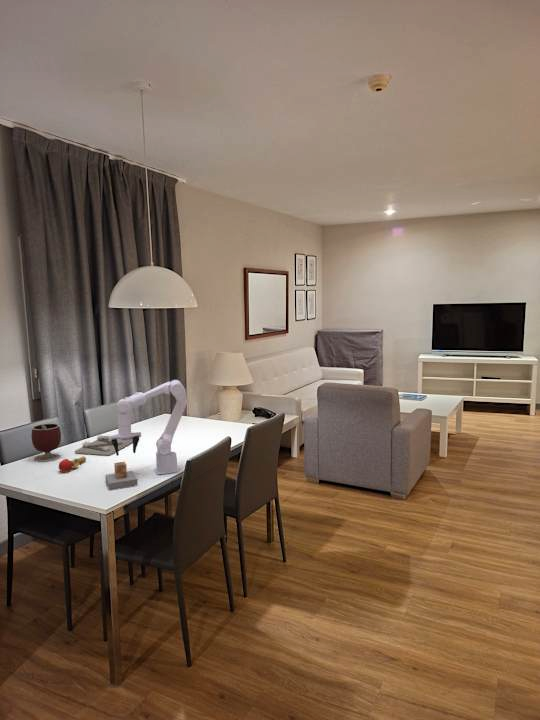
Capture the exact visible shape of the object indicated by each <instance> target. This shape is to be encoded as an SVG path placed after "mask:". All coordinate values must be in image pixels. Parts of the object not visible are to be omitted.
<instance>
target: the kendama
mask: <svg viewBox="0 0 540 720" xmlns="http://www.w3.org/2000/svg"><path fill="white" fill-rule="evenodd" d="M86 461H87V457H86V456H81V457H79V458H78V457H77V458H73V459H72V460H69V459H68V458H65V459H62V460H61V461H59V463H58V470H59V472H63V473H68V472H70V471H71V470H72V468H74V469H77V468H78V467H79V466H80V464H81V463H85V462H86Z"/></svg>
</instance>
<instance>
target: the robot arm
mask: <svg viewBox="0 0 540 720" xmlns="http://www.w3.org/2000/svg"><path fill="white" fill-rule="evenodd" d="M170 393H171V395H172V396H173V397H174V400H175V402H176V403H175V404H174V408H173V409H172V412H171V414H170V416H169V419H168V421H167V424H166V426H165V429H164V431H163V432H162V434H161V435H160V436H159V438H158V439H157V440H156V442H155V445H156V448H157V449H156V450H157V451H156V452H155V458H156V459H155V463H156V468H154V472H155V473H156V474H157V475H158V474H161V475H166V474H167V475H168V474H173V473H178V471H179V470H178V457H177V453H176V452H175V451H172V443H173V439H174V436H175V433H176V431H177V429H178V426H179V423H180V421H181V419H182V417H183V413H184V412H185V410H186V406H187V405H188V396H187V391H186V388H185V387H184V385H183V384H182V383H181V381H180V380H179V379H172V380H171V381H167V382H165V383H162V384H160V385H158V386H156V387H154V388H152V389H150V390H147V391H146V392H141V391H139V392H138V391H136V392H134V394H133V395H130V396H126V397H125V398H122V399H120V400H118V402H117V404H116V409H117V427H118V428H117V429H118V433H117V434H114V435H107V436H108V437H109V441H111V442H112V444H113V446H114V448H115V451H116V452H115V455H116V456H117V457H118V456H119V451H118V442H117V440H119V439H127V438H132V440H133V443H132V452H133V454H136V452H137V451H136V450H137V446H138V444H139V441H140V438H141V437H142V432H141V431H139V432H132V421H131V419H132V418H131V414H130V413H131V412H130V411H131V410H133V409H135V408H138V407H140V406H142V405H144V404H146V402H147V400H149V399H152V398H154V397H156V396H159V395H162V394H166V395H170Z"/></svg>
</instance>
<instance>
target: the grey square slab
mask: <svg viewBox="0 0 540 720" xmlns="http://www.w3.org/2000/svg"><path fill="white" fill-rule="evenodd" d="M105 482H106V486H107V488H108V490H109V491H114V490H119V488H120V489H125V488H124V487H126V488H131V487H130V486H132V487H136V486H135V485H138V478H137V476H136V474H135V472H134V471H133V470H130V471H127V478H121V479H116V477H115V473H109V474H105Z"/></svg>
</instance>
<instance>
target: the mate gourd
mask: <svg viewBox="0 0 540 720" xmlns="http://www.w3.org/2000/svg"><path fill="white" fill-rule="evenodd" d="M61 431H62V430H61V427H60V424H58V423H51V422H50V423H42V424H41V423H40V424H37V425H34V426H32V428H31V435H30V436H31V443H32V446H33V448H35V450H36V451H37V452H42V453H44V454H42V455H38V456H37V457H35V458H34V461H35V462H36V461H37V463H50V461H51V462H55V461H58V460H60V459H61V458H60V457H62V456H61V455H60V454H59V453H51V452H52V451H54V450H57V449H58V448H59V446H60V445H61V441H62V432H61ZM59 458H60V459H59ZM57 459H58V460H57Z"/></svg>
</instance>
